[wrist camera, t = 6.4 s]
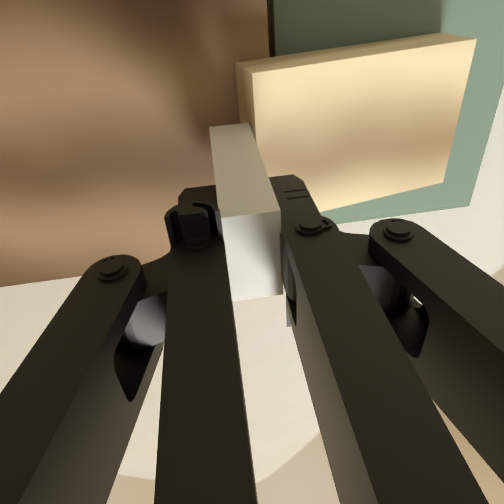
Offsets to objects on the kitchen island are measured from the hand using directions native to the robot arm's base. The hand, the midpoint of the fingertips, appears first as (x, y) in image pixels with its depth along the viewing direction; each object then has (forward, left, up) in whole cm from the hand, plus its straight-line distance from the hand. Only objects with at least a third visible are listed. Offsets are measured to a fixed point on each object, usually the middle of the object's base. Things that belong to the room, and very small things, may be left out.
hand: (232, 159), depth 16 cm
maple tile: (0, +5, -2) cm, 5 cm away
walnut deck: (0, -5, -4) cm, 6 cm away
